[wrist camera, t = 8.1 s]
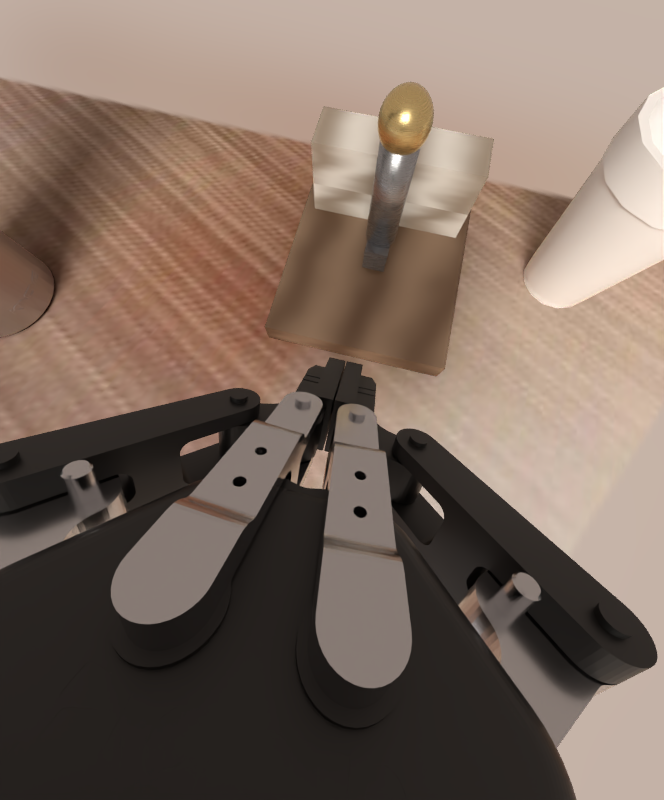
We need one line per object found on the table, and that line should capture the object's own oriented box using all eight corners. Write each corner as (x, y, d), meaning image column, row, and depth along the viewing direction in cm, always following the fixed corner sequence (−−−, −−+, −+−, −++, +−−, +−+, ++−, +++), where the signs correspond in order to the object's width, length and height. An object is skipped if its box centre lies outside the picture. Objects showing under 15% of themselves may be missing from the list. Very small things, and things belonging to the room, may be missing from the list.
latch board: (269, 337, 28) (246, 284, 20) (317, 189, 32) (313, 99, 24) (436, 376, 27) (479, 337, 19) (463, 220, 31) (507, 136, 24)
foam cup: (498, 304, 29) (629, 173, 16) (517, 230, 31) (645, 65, 18) (596, 334, 28) (811, 223, 16) (608, 257, 30) (806, 104, 18)
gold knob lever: (355, 265, 27) (375, 108, 15) (375, 190, 29) (406, 1, 18) (389, 273, 27) (435, 119, 15) (407, 196, 29) (460, 10, 17)
